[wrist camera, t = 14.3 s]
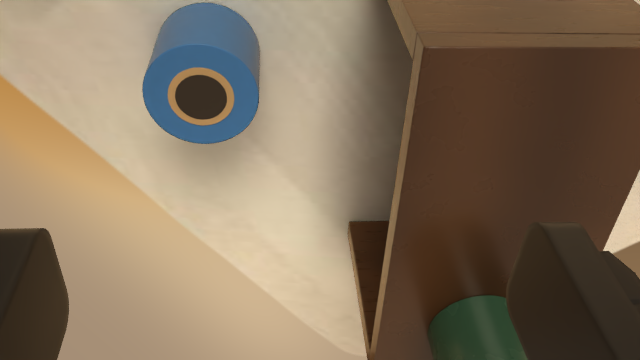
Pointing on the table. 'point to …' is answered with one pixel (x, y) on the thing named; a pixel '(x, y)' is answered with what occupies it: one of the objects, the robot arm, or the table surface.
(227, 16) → the tape roll
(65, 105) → the table surface
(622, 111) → the shelf
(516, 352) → the tea tin
